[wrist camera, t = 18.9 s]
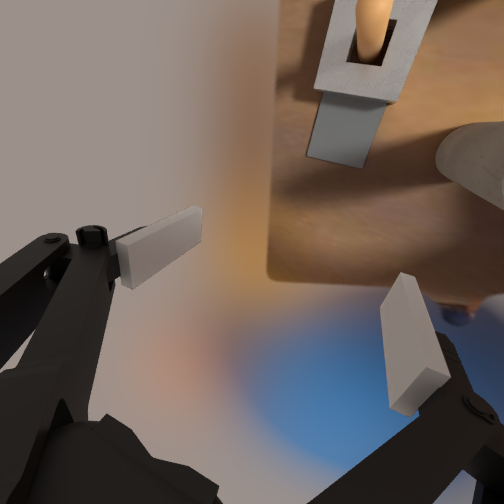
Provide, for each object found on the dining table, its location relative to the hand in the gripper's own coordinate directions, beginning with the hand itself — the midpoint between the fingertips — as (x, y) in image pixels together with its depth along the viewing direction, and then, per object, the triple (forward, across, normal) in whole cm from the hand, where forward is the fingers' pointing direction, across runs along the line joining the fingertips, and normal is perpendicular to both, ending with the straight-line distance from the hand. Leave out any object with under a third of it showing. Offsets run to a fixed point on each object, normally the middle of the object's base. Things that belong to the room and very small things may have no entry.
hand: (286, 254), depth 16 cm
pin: (+35, -1, +18) cm, 39 cm away
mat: (+35, -1, +7) cm, 35 cm away
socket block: (+35, -1, +18) cm, 39 cm away
